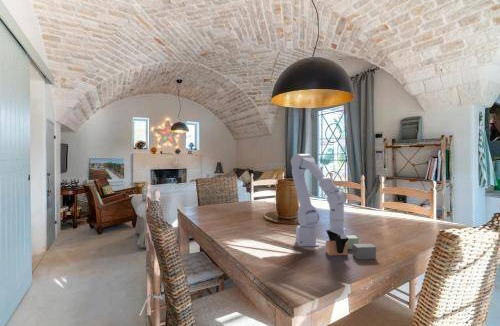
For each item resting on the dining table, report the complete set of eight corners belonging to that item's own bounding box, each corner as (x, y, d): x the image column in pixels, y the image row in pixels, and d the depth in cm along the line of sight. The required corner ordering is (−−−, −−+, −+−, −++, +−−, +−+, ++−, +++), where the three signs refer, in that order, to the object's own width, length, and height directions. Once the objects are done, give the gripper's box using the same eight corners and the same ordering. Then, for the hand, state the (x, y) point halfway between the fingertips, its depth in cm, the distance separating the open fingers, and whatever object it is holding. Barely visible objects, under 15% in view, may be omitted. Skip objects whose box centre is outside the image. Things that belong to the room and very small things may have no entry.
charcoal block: (356, 259, 102) (357, 247, 101) (352, 255, 106) (352, 243, 105) (375, 258, 102) (376, 247, 102) (370, 255, 106) (370, 243, 106)
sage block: (341, 249, 113) (341, 238, 112) (337, 246, 117) (338, 235, 116) (358, 248, 113) (358, 238, 113) (354, 245, 117) (354, 235, 117)
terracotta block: (329, 255, 106) (329, 243, 106) (326, 251, 110) (326, 240, 110) (347, 255, 106) (347, 243, 106) (343, 251, 110) (343, 240, 110)
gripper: (353, 223, 100) (353, 256, 101) (339, 214, 115) (339, 243, 115) (336, 223, 100) (336, 256, 100) (324, 214, 115) (324, 243, 115)
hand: (336, 249), depth 108 cm, fingers open, 7 cm apart
